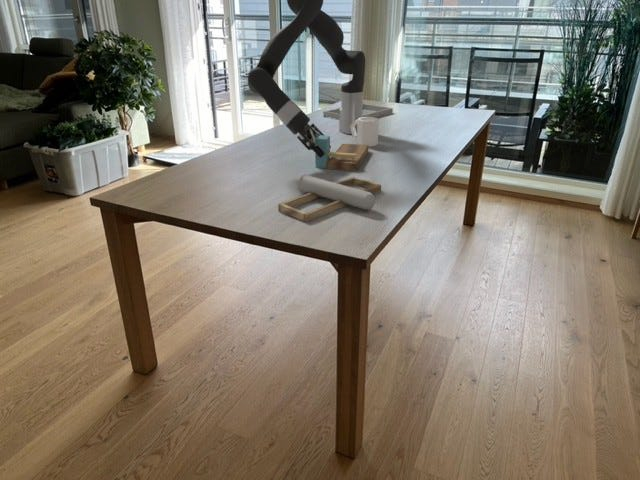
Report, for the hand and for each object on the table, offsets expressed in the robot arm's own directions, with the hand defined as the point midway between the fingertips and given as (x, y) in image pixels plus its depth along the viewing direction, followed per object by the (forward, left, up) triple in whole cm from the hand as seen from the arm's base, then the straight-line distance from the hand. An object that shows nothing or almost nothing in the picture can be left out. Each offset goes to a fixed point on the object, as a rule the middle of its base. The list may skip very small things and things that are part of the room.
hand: (326, 152), depth 164 cm
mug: (-10, +32, -5) cm, 34 cm away
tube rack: (+24, -22, -5) cm, 33 cm away
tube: (+26, -22, -5) cm, 34 cm away
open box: (+1, +11, -5) cm, 12 cm away
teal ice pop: (+3, +2, -5) cm, 6 cm away
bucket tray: (-47, +72, -5) cm, 86 cm away
